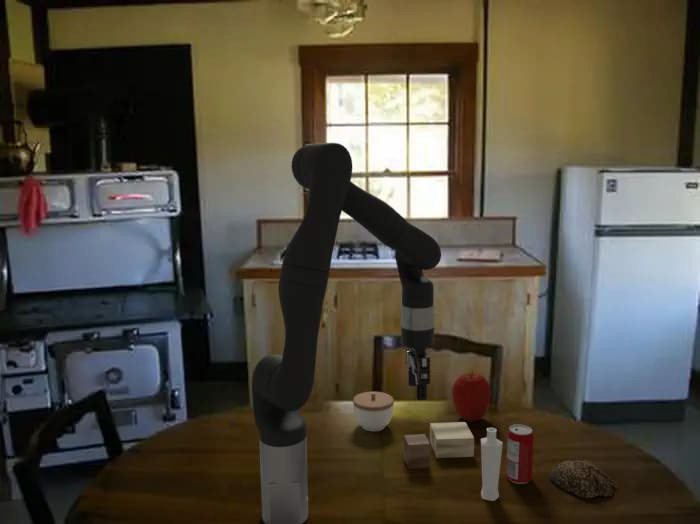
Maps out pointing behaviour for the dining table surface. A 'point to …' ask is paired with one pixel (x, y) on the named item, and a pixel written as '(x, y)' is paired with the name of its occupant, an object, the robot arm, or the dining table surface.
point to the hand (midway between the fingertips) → (417, 392)
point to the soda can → (519, 454)
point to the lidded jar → (373, 410)
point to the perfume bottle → (490, 464)
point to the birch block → (451, 440)
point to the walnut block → (416, 451)
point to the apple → (471, 396)
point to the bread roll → (582, 479)
